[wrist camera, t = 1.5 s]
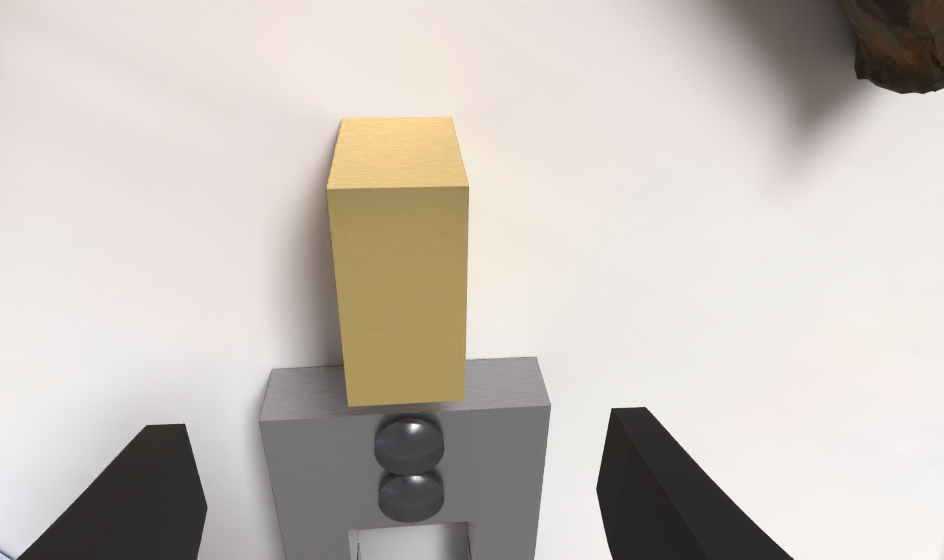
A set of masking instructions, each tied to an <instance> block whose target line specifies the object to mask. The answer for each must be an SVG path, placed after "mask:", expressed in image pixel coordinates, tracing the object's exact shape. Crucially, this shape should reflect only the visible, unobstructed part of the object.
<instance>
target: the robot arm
mask: <svg viewBox="0 0 944 560" xmlns="http://www.w3.org/2000/svg"><path fill="white" fill-rule="evenodd" d="M596 491H597V495H598V500H599V505H600V510H601V515H602V520H603V524H604V529H605V533H606V537H607V542H608V546H609V549H610V552H611V555H612V558H613V560H794V559H793V558H792V557H791V556H789V555H788V554H787V553H786V552H785V551H784V550H783V549H782V548H781V547H780V546H779V545H778V544H776V543H775V542H774V541H773V540H772V539H771V538H770V537H769V536H768V535H767V534H766V533H765V532H764V531H763V530H762V529H760V528H759V527H758V526H757V525H756V524H755V523H754V522H753V521H752V520H751V519H750V518H749V517H748V516H747V515H746V514H745V513H744V512H743V511H742V510H741V509H740V508H739V507H738V506H737V505H736V504H735V503H734V502H733V501H732V500H731V499H730V498H729V497H728V496H727V495H726V494H725V493H724V492H723V490H722V489H721V488H720V487H719V486H718V485H717V484H716V483H715V482H714V481H713V480H712V479H711V478H710V477H709V476H708V475H707V474H706V473H705V472H704V471H703V470H702V468H701V467H700V466H699V465H698V464H697V463H696V462H695V461H694V460H693V459H692V458H691V457H690V455H689V454H688V453H687V452H686V451H685V450H684V449H683V448H682V447H681V446H680V444H679V443H678V442H677V441H676V440H675V439H674V438H673V437H672V436H671V434H670V433H669V432H668V431H667V430H666V429H665V428H664V427H663V425H662V424H661V423H660V422H659V421H658V420H657V419H656V418H655V417H654V416H653V414H652V413H651V412H650V411H649V410H648V409H647V408H646V407H637V408H612V409H611V414H610V419H609V424H608V430H607V435H606V440H605V445H604V451H603V456H602V461H601V466H600V472H599V477H598V482H597V487H596ZM206 512H207V504H206V500H205V496H204V493H203V489H202V485H201V481H200V478H199V474H198V470H197V467H196V463H195V459H194V455H193V452H192V448H191V444H190V441H189V437H188V433H187V430H186V426H185V424H166V425H146V426H145V427H144V428H143V429H142V430H141V431H140V432H139V433H138V434H137V435H136V437H135V438H134V439H133V440H132V441H131V442H130V443H129V444H128V445H127V446H126V447H125V448H124V449H123V450H122V451H121V452H120V453H119V455H118V456H117V457H116V458H115V459H114V460H113V461H112V462H111V463H110V464H109V465H108V466H107V467H106V469H105V470H104V471H103V472H102V473H101V474H100V475H99V476H98V477H97V478H96V479H95V480H94V481H93V482H92V483H91V485H90V486H89V487H88V488H87V489H86V490H85V491H84V492H83V493H82V494H81V495H80V496H79V497H78V498H77V499H76V500H75V501H74V502H73V503H72V504H71V505H70V506H69V507H68V508H67V509H66V511H65V512H64V513H63V514H62V515H61V516H60V517H59V518H58V519H57V520H56V521H55V522H54V523H53V524H52V525H51V526H50V527H49V528H48V529H47V530H46V531H45V532H44V533H43V534H42V535H41V536H40V537H39V538H38V539H37V540H36V541H35V542H34V543H33V544H32V545H31V546H30V547H29V548H28V549H27V550H26V551H25V552H24V553H23V554H22V555H20V556H19V557H18V558H17V559H16V560H197V556H198V551H199V547H200V542H201V538H202V533H203V528H204V522H205V517H206ZM0 560H11V559H9V558H8V557H6V556H4V555H3V554H1V553H0Z"/></svg>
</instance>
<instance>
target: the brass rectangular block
mask: <svg viewBox="0 0 944 560" xmlns="http://www.w3.org/2000/svg"><path fill="white" fill-rule="evenodd" d="M326 191H327V201H328V211H329V221H330V231H331V241H332V251H333V261H334V271H335V281H336V291H337V301H338V311H339V321H340V330H341V340H342V350H343V360H344V370H345V380H346V390H347V400H348V407H351V406H369V405H388V404H407V403H426V402H445V401H464V400H465V359H466V309H467V258H468V208H469V184H468V180H467V176H466V172H465V168H464V164H463V160H462V157H461V153H460V149H459V145H458V141H457V137H456V133H455V129H454V125H453V121H452V117H420V118H342V122H341V126H340V130H339V135H338V139H337V144H336V148H335V153H334V157H333V161H332V166H331V170H330V175H329V179H328V183H327V188H326Z"/></svg>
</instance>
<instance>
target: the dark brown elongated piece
mask: <svg viewBox="0 0 944 560" xmlns="http://www.w3.org/2000/svg"><path fill="white" fill-rule="evenodd" d="M836 1H837V2H838V3H839V5H840V6H841V7H842V8H843V10H844V12H845V14H846V15H847V17H848V19H849V21H850V23H851V24H852V26H853V28H854V29H855V31H856V33H857V34H858V37H859V41H860V43H859V44H858V45H857V47H856V53H855V55H856V57H855V66H854V68H855V72H856V75H857V79H868V80H870V81H871V82H872V83H874V84H875V85H876V86H879V87H882V88H885V89H888V90H891V91H894V92H897V93H900V94H906V93H914V92H915V93H920V94H925V93H928V92H931V91H934V92H935V91H938V90H940V89H943V88H944V0H836Z"/></svg>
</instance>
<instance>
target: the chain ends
mask: <svg viewBox="0 0 944 560" xmlns="http://www.w3.org/2000/svg"><path fill="white" fill-rule="evenodd" d="M550 410H551V404H550V400H549V397H548V394H547V390H546V387H545V384H544V380H543V377H542V374H541V371H540V367H539V364H538V361H537V357H522V358H501V359H479V360H465V400H464V401H445V402H426V403H407V404H388V405H369V406H351V407H348V400H347V390H346V380H345V370H344V366H329V367H308V368H287V369H272V372H271V376H270V380H269V384H268V388H267V392H266V396H265V400H264V404H263V407H262V411H261V415H260V419H259V423H260V429H261V434H262V439H263V444H264V449H265V454H266V459H267V464H268V469H269V474H270V479H271V484H272V489H273V494H274V499H275V504H276V510H277V515H278V520H279V525H280V530H281V535H282V540H283V545H284V550H285V555H286V560H361V558H360V548H359V543H358V529H372V528H386V527H400V526H414V525H428V524H442V523H456V522H468V533H469V535H468V543H467V560H534V557H535V547H536V538H537V529H538V520H539V511H540V502H541V492H542V483H543V474H544V465H545V456H546V447H547V437H548V428H549V419H550Z"/></svg>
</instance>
